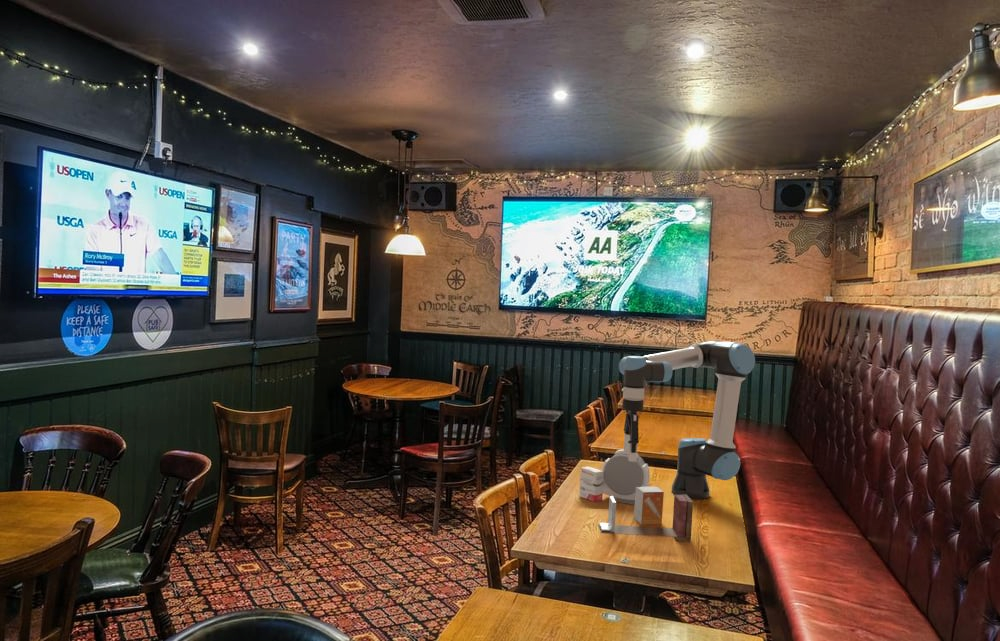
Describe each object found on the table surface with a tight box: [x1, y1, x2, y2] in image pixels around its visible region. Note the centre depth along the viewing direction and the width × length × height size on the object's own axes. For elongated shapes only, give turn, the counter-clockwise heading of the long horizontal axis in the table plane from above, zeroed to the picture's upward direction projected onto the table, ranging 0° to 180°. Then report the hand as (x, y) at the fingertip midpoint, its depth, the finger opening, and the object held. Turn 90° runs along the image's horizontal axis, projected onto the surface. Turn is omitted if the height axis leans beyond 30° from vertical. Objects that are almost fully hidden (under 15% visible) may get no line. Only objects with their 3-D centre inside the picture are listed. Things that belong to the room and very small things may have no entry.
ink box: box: [578, 466, 604, 503], centre depth 258 cm, size 8×5×12 cm, turn 39°
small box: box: [633, 486, 665, 525], centre depth 231 cm, size 8×6×13 cm
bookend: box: [599, 496, 617, 532], centre depth 221 cm, size 4×7×10 cm, turn 179°
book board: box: [597, 494, 694, 543], centre depth 221 cm, size 30×8×14 cm, turn 89°
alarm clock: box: [601, 448, 651, 506], centre depth 257 cm, size 18×8×20 cm, turn 65°
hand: (629, 456), depth 237 cm, fingers open, 13 cm apart
